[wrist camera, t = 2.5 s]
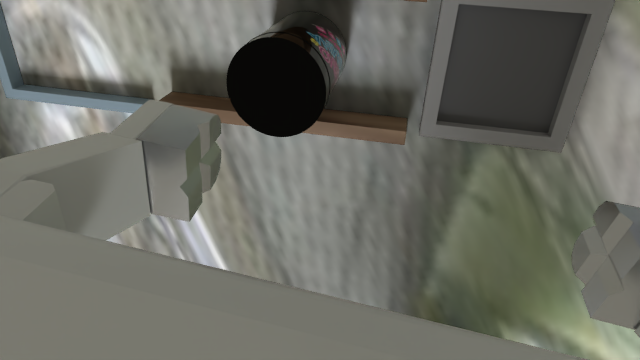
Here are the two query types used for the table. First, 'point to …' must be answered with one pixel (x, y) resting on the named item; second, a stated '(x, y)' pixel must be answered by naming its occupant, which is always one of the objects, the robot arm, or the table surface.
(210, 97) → the channel
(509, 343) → the robot arm
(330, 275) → the table surface
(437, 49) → the tray
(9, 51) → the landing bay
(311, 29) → the supplement container
